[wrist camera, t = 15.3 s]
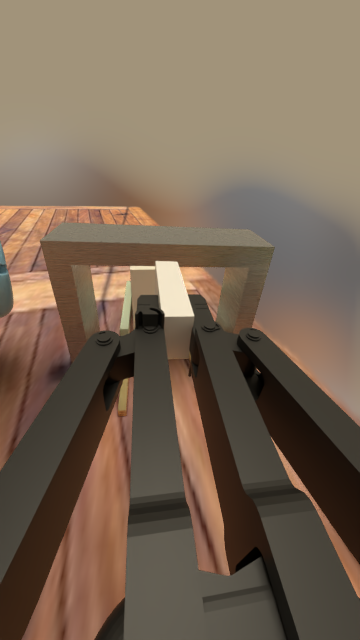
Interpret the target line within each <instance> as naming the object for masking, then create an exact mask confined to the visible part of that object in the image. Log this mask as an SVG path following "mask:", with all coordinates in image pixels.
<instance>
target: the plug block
mask: <svg viewBox="0 0 360 640" xmlns="http://www.w3.org/2000/svg"><path fill="white" fill-rule="evenodd" d="M130 274H131V294H132V312H133V328H134V329H135V313H136V311H137V299H138V298H139V296H140V295H155V266H130Z"/></svg>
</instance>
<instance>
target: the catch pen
mask: <svg viewBox="0 0 360 640" xmlns="http://www.w3.org/2000/svg"><path fill="white" fill-rule="evenodd" d="M131 312H132V294H131V281H127V284H126V290H125V297H124V304H123V311H122V318H121V325H120V336H123V335H126V334H129V333H130V323H131Z"/></svg>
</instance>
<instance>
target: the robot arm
mask: <svg viewBox="0 0 360 640" xmlns="http://www.w3.org/2000/svg"><path fill="white" fill-rule="evenodd" d="M6 268H7V265H6V261H5V256H4V252H3V248H2V245H1V242H0V318H1V317H4V316H6V315H7V314H9V312H10V311H11V310H12V308H13V292H12V286H11V281H10V277H9V273H8V270H7V269H6ZM189 352H190V356H191V361H190V368H189V376H191V373H192V377H193V382H194V387H195V391H196V396H197V401H198V405H199V410H200V415H201V419H202V424H203V428H204V433H205V438H206V442H207V447H208V452H209V456H210V461H211V465H212V470H213V475H214V479H215V484H216V489H217V493H218V498H219V503H220V507H221V512H222V516H223V522H224V541H225V550H226V556H227V561H228V566H229V571H230V576H225V575H220V574H215V573H210V572H205V571H201V570H198V563H197V555H196V548H195V541H194V533H193V526H192V520H191V514H190V510H189V507H188V504H187V502H186V498H185V492H184V484H183V476H182V468H181V460H180V452H179V444H178V436H177V428H176V420H175V412H174V404H173V396H172V388H171V381H170V373H169V365H168V360H169V359H189ZM256 368H257V369H258V370H259V371H260V372H261V373H259V372H258V371H257V369H256ZM133 376H134V390H133V421H132V452H131V483H130V508H129V516H128V532H127V558H126V586H125V598H124V599H123V600H122V601H121V602H120V603H119V604H118V605H117V606H116V608H115V609H114V610H113V611H112V613H111V614H110V615H109V617H108V618H107V620H106V621H105V623H104V624H103V626H102V627H101V629H100V631H99V632H98V634H97V636H96V638H95V640H360V599H359V598H358V596H357V594H356V592H355V590H354V588H353V586H352V584H351V582H350V580H349V578H348V575H347V573H346V571H345V569H344V567H343V565H342V563H341V561H340V559H339V557H338V555H337V552H336V550H335V548H334V546H333V544H332V542H331V540H330V538H329V536H328V534H327V532H326V529H325V527H324V525H323V523H322V521H321V519H320V517H319V515H318V513H317V511H316V509H315V507H314V505H313V504H312V502H311V500H310V499H309V498H308V497H307V495H306V494H305V493H304V492H302V491H300V490H298V489H296V488H295V487H294V486H293V485H292V483H291V481H290V479H289V477H288V475H287V473H286V470H285V468H284V466H283V464H282V461H281V459H280V457H279V455H278V452H277V450H276V448H275V446H274V443H273V441H272V439H273V440H274V442H275V443H276V445H277V446H278V447H279V449H280V450H281V452H282V453H283V455H284V456H285V458H286V459H287V460H288V462H289V463H290V465H291V466H292V468H293V469H294V471H295V472H296V474H297V475H298V476H299V478H300V479H301V481H302V482H303V484H304V485H305V487H306V488H307V489H308V491H309V492H310V494H311V495H312V497H313V498H314V500H315V501H316V502H317V504H318V505H319V507H320V508H321V510H322V511H323V513H324V514H325V516H326V517H327V518H328V520H329V521H330V523H331V524H332V526H333V527H334V529H335V530H336V531H337V533H338V534H339V536H340V537H341V539H342V540H343V542H344V543H345V544H346V546H347V547H348V549H349V550H350V551H351V553H352V554H353V555H354V557H355V558H356V560H357V561H358V562H359V564H360V427H359V426H358V425H357V424H356V423H355V422H354V421H353V420H352V419H351V418H350V417H349V416H348V415H347V414H346V413H345V412H344V411H343V410H342V409H341V408H340V407H339V406H338V405H337V404H336V403H335V402H334V401H333V400H332V399H331V398H330V397H329V396H328V395H327V394H325V393H324V392H323V391H322V390H321V389H320V388H319V387H318V386H317V385H316V384H315V383H314V382H313V381H312V380H311V379H310V378H309V377H308V376H307V375H306V374H305V373H304V372H303V371H302V370H301V369H300V368H299V367H298V366H297V365H296V364H295V363H294V362H293V361H292V360H291V359H290V358H289V357H288V356H287V355H286V354H285V353H284V352H282V351H281V350H280V349H279V348H278V347H277V346H276V345H275V344H274V343H273V342H272V341H271V340H270V339H269V338H268V337H267V336H266V335H265V334H264V333H263V332H261V331H260V330H257V329H254V328H244V329H241V331H240V332H239V334H234V333H229V332H226V331H224V330H223V328H222V327H221V325H220V324H218V323H217V322H215V321H214V320H213V317H212V315H211V312H210V310H209V308H208V305H207V303H206V300H205V299H204V298H203V297H202V296H201V295H188V294H187V291H186V287H185V284H184V281H183V278H182V275H181V271H180V268H179V265H178V262H174V261H155V295H140V296H139V298H138V299H137V311H136V313H135V329H134V330H133V331H132V332H131V333H129V334H126V335H123V336H119V335H118V334H117V333H115V332H112V331H100V332H97V333H95V334H93V335H92V336H91V337H90V338H89V339H88V341H87V342H86V344H85V345H84V347H83V348H82V350H81V351H80V353H79V354H78V356H77V357H76V359H75V360H74V362H73V363H72V365H71V366H70V368H69V369H68V371H67V372H66V374H65V375H64V377H63V378H62V380H61V381H60V383H59V384H58V386H57V387H56V389H55V390H54V392H53V393H52V395H51V396H50V398H49V399H48V401H47V402H46V404H45V405H44V407H43V408H42V410H41V411H40V413H39V414H38V416H37V417H36V419H35V420H34V422H33V423H32V425H31V426H30V428H29V429H28V431H27V432H26V434H25V435H24V437H23V438H22V440H21V441H20V443H19V444H18V446H17V447H16V449H15V450H14V452H13V453H12V455H11V456H10V458H9V459H8V461H7V462H6V464H5V465H4V467H3V468H2V470H1V471H0V640H21V639H22V637H23V635H24V633H25V631H26V628H27V626H28V624H29V621H30V619H31V616H32V614H33V612H34V609H35V607H36V605H37V602H38V600H39V597H40V595H41V592H42V590H43V587H44V585H45V582H46V579H47V577H48V574H49V572H50V569H51V567H52V564H53V561H54V559H55V556H56V554H57V551H58V548H59V546H60V543H61V541H62V538H63V536H64V533H65V530H66V528H67V525H68V523H69V520H70V518H71V515H72V512H73V510H74V507H75V505H76V502H77V499H78V497H79V494H80V492H81V489H82V487H83V484H84V481H85V479H86V476H87V474H88V471H89V469H90V466H91V463H92V461H93V458H94V456H95V453H96V450H97V448H98V445H99V443H100V440H101V438H102V435H103V432H104V430H105V427H106V425H107V422H108V420H109V417H110V414H111V412H112V409H113V407H114V404H115V402H116V399H117V396H118V394H119V391H120V389H121V386H122V383H123V380H124V379H127V378H130V377H133ZM270 436H271V437H272V439H271V437H270Z"/></svg>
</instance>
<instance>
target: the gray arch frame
mask: <svg viewBox="0 0 360 640" xmlns="http://www.w3.org/2000/svg"><path fill="white" fill-rule="evenodd" d="M40 243H41V247H42V251H43V255H44V258H45V262H46V266H47V270H48V273H49V277H50V281H51V285H52V289H53V292H54V296H55V300H56V304H57V307H58V311H59V315H60V319H61V323H62V326H63V330H64V334H65V338H66V341H67V345H68V349H69V353H70V357H71V360H72V363H73V362H74V360H75V359H76V357H77V356H78V354H79V353H80V351H81V350H82V348H83V347H84V345H85V344H86V342H87V341H88V339H89V338H90V337H91V336H92V335H93V334H95V333H97V332H100V327H99V320H98V314H97V308H96V301H95V295H94V289H93V282H92V276H91V270H90V265H101V266H155V261H174V262H178V265H179V267H226V268H225V274H224V279H223V284H222V290H221V295H220V301H219V307H218V312H217V318H216V322H217V323H218V324H220V325H221V327H222V328H223V330H224V331H226V332H229V333H234V334H239V332H240V331H241V329H244V328H252V325H253V321H254V318H255V314H256V310H257V307H258V304H259V300H260V297H261V294H262V290H263V287H264V283H265V280H266V276H267V273H268V269H269V266H270V262H271V259H272V255H273V252H274V248H275V247H274V246H272V245H271V244H269V243H268V242H267V241H265V240H264V239H262V238H261V237H259V236H258V235H257V234H255V233H253V232H252V231H251V230H246V229H219V228H192V227H166V226H140V225H114V224H88V223H61V224H60V225H59V226H58V227H56V228H55V229H54V230H53V231H51V232H50V233H49V234H48V235H46V236H45V237H44V238H42V239H41V240H40ZM190 361H191V356H190V352H189V362H190ZM128 386H129V378H127V379H124V380H123V383H122V386H121V389H120V396H119V405H118V415H119V416H126V414H127V400H128Z"/></svg>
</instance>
